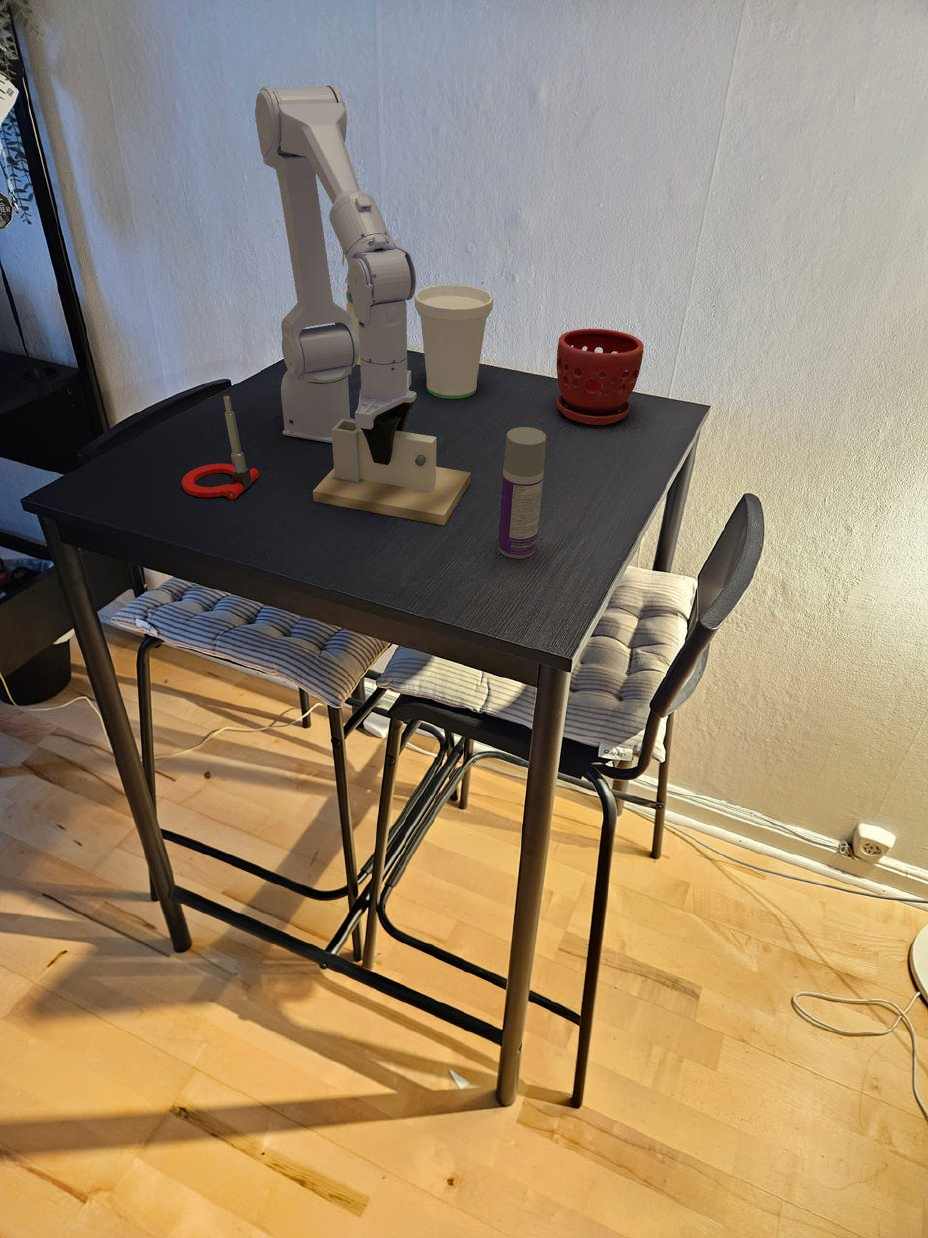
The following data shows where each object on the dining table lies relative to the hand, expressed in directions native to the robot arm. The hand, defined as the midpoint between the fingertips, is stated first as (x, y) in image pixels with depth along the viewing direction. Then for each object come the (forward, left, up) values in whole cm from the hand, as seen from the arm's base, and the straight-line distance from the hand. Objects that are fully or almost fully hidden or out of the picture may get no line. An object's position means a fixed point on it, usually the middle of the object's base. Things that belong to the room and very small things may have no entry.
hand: (386, 457), depth 110 cm
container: (+20, -8, -5) cm, 22 cm away
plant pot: (+22, +35, -5) cm, 42 cm away
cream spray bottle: (-20, +44, -5) cm, 49 cm away
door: (0, 0, -3) cm, 3 cm away
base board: (+1, 0, -5) cm, 5 cm away
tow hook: (-22, -6, -5) cm, 23 cm away
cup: (-2, +36, -5) cm, 36 cm away
